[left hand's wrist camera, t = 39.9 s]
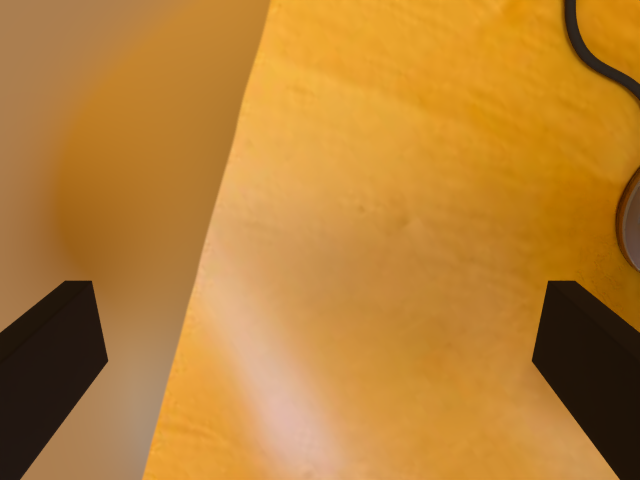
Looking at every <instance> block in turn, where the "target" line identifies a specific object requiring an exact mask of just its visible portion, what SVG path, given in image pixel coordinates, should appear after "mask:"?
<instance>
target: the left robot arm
mask: <svg viewBox="0 0 640 480" xmlns="http://www.w3.org/2000/svg"><path fill="white" fill-rule="evenodd" d="M565 21H566V27H567V31H568V35H569V38H570V41H571V43H572V45H573V47H574V49H575V51H576V52H577V54H578V55H579V57H580V58H581V59H582V60H583V61H584V62H585V63H586V64H587V65H589V66H590V67H591V68H593V69H594V70H596V71H598V72H599V73H601V74H603V75H605V76H607V77H609V78H611V79H613V80H615V81H617V82H619V83H620V84H622V85H624V86H625V87H626V88H628V89H629V90H630V91H631V92H632V93H633V94H635V95H636V97H637V98H638V99H639V100H640V84H639V83H638V82H636V81H635V80H634V79H632V78H631V77H629V76H627V75H626V74H624V73H622V72H620V71H618V70H616V69H614V68H612V67H610V66H608V65H606V64H605V63H603V62H601V61H600V60H599V59H597V58H596V57H595V56H594V55H593V54H592V53H591V52H590V51H589V50H588V48H587V47H586V45H585V44H584V42H583V40H582V37H581V35H580V32H579V29H578V25H577V19H576V0H565ZM616 234H617V240H618V244H619V247H620V250H621V252H622V254H623V256H624V257H625V259H626V260H627V262H628V263H629V264H630V265H631V266H632V267H633V268H634V269H635V270H636V271H638V272H639V273H640V168H639V170H638V171H637V172H636V174H635V175H634V176H633V178H632V179H631V181H630V182H629V184H628V186H627V188H626V190H625V192H624V194H623V196H622V199H621V202H620V205H619V208H618V213H617V219H616ZM107 362H108V357H107V353H106V348H105V343H104V338H103V333H102V328H101V323H100V319H99V314H98V309H97V304H96V299H95V294H94V289H93V285H92V281H64V282H63V283H62V284H60V285H59V286H58V287H57V288H55V289H54V290H53V291H52V292H50V293H49V294H48V295H47V296H46V297H44V298H43V299H42V300H41V301H39V302H38V303H37V304H36V305H34V306H33V307H32V308H31V309H29V310H28V311H27V312H26V313H24V314H23V315H22V316H21V317H19V318H18V319H17V320H16V321H14V322H13V323H12V324H11V325H9V326H8V327H7V328H6V329H4V330H3V331H2V332H1V333H0V480H20V479H21V478H22V476H23V475H24V474H25V472H26V471H27V470H28V468H29V467H30V466H31V464H32V463H33V462H34V460H35V459H36V458H37V456H38V455H39V454H40V452H41V451H42V449H43V448H44V447H45V445H46V444H47V443H48V441H49V440H50V439H51V437H52V436H53V435H54V433H55V432H56V431H57V429H58V428H59V427H60V425H61V424H62V423H63V421H64V420H65V419H66V417H67V416H68V414H69V413H70V412H71V410H72V409H73V408H74V406H75V405H76V404H77V402H78V401H79V400H80V398H81V397H82V396H83V394H84V393H85V392H86V390H87V389H88V388H89V386H90V385H91V384H92V382H93V381H94V380H95V378H96V377H97V375H98V374H99V373H100V371H101V370H102V369H103V367H104V366H105V365H106V363H107ZM532 362H533V363H534V365H535V366H536V367H537V369H538V370H539V371H540V373H541V374H542V376H543V377H544V378H545V380H546V381H547V382H548V384H549V385H550V386H551V388H552V389H553V390H554V392H555V393H556V394H557V396H558V397H559V398H560V400H561V401H562V402H563V404H564V405H565V406H566V408H567V409H568V410H569V412H570V413H571V415H572V416H573V417H574V419H575V420H576V421H577V423H578V424H579V425H580V427H581V428H582V429H583V431H584V432H585V433H586V435H587V436H588V437H589V439H590V440H591V441H592V443H593V444H594V445H595V447H596V448H597V449H598V451H599V452H600V454H601V455H602V456H603V458H604V459H605V460H606V462H607V463H608V464H609V466H610V467H611V468H612V470H613V471H614V472H615V474H616V475H617V476H618V478H619V479H620V480H640V333H639V332H638V331H637V330H636V329H634V328H633V327H632V326H631V325H629V324H628V323H627V322H626V321H624V320H623V319H622V318H621V317H619V316H618V315H617V314H616V313H614V312H613V311H612V310H611V309H609V308H608V307H607V306H606V305H604V304H603V303H602V302H601V301H599V300H598V299H597V298H596V297H595V296H593V295H592V294H591V293H590V292H588V291H587V290H586V289H585V288H583V287H582V286H581V285H580V284H578V283H577V282H576V281H548V284H547V289H546V294H545V299H544V304H543V309H542V314H541V318H540V323H539V328H538V333H537V338H536V343H535V348H534V353H533V357H532Z"/></svg>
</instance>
